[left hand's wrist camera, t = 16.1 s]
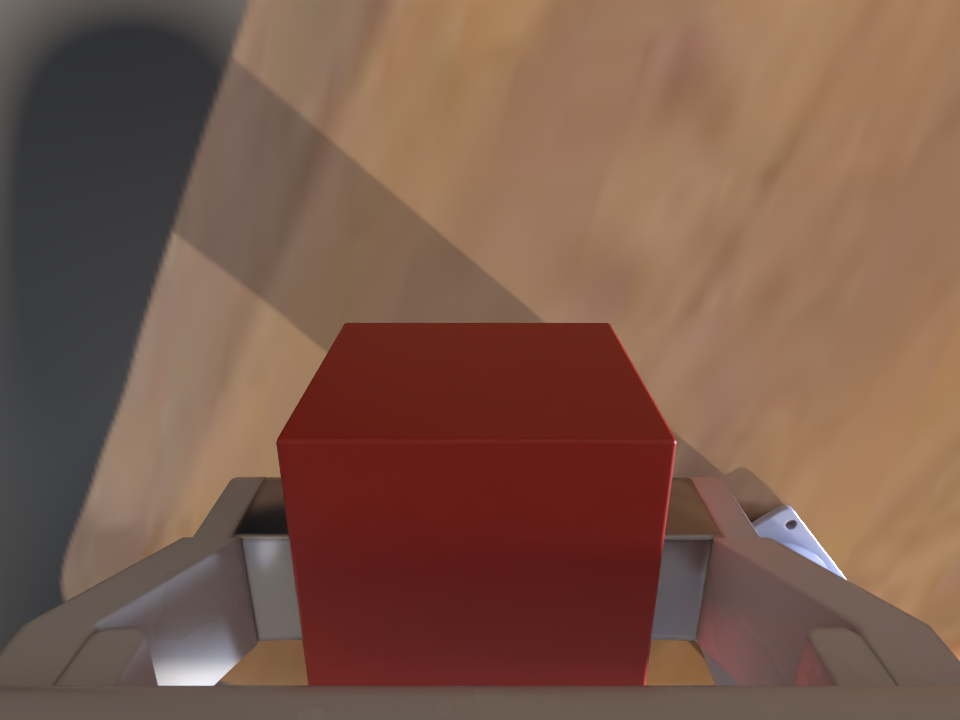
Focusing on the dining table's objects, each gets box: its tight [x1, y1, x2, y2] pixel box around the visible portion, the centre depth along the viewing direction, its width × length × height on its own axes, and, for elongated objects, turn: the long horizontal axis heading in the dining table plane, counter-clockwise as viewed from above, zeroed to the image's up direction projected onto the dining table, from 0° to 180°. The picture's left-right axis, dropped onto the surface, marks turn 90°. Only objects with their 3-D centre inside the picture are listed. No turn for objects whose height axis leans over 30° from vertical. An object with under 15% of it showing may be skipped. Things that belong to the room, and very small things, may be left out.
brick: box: [276, 323, 677, 686], centre depth 10 cm, size 5×5×4 cm
